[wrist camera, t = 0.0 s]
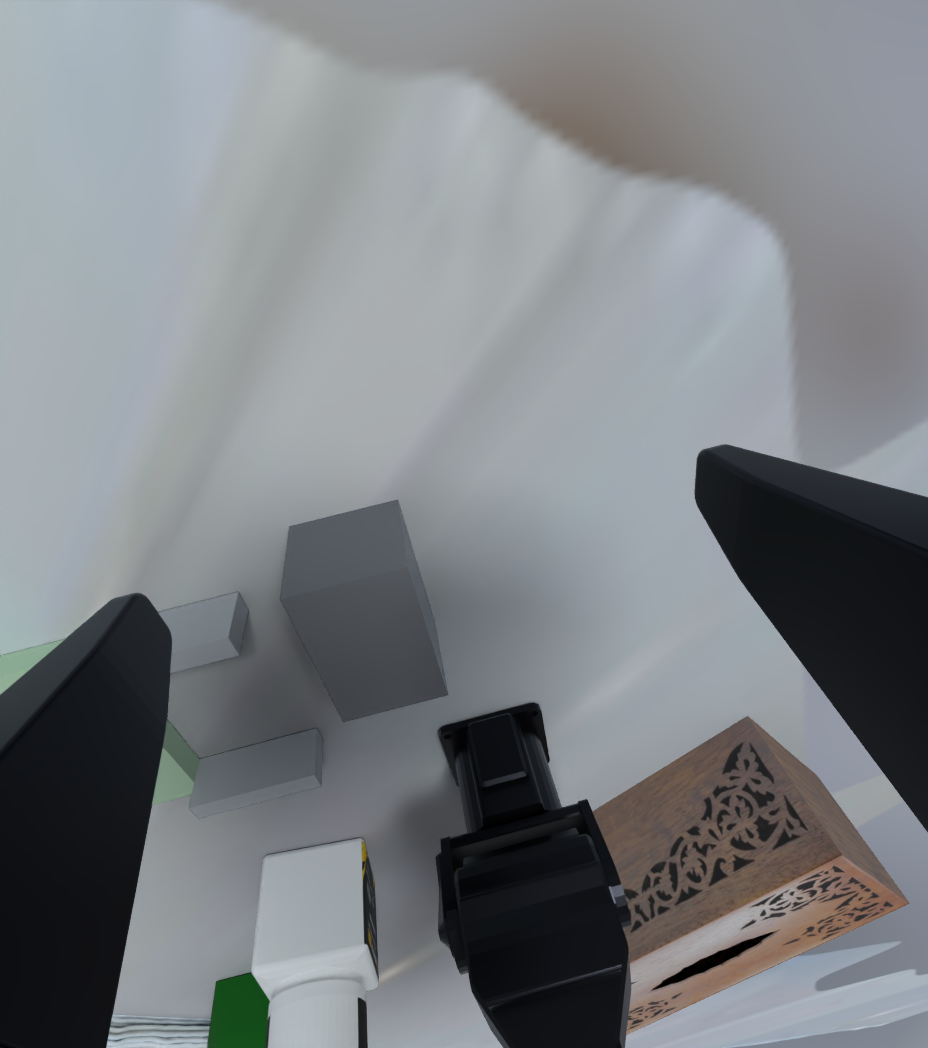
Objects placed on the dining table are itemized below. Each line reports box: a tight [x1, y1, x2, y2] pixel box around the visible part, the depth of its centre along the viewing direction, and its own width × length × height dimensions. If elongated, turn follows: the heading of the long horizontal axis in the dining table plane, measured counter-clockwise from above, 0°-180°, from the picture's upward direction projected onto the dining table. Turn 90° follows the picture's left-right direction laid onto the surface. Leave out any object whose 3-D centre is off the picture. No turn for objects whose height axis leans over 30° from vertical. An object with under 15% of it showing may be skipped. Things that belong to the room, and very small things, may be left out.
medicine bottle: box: [251, 838, 379, 1048], centre depth 38 cm, size 7×7×12 cm
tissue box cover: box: [593, 716, 909, 1035], centre depth 45 cm, size 26×14×10 cm, turn 133°
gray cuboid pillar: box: [280, 500, 448, 722], centre depth 26 cm, size 8×5×5 cm, turn 10°
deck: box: [0, 592, 323, 819], centre depth 29 cm, size 12×15×3 cm
